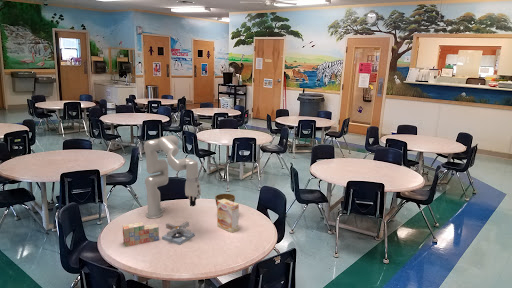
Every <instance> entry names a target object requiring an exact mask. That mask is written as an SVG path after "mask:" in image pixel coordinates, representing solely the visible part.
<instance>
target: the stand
mask: <svg viewBox="0 0 512 288" xmlns="http://www.w3.org/2000/svg"><path fill="white" fill-rule="evenodd" d="M195 234H196V233H195V232H192V231H191V235H187V234H183V236H181V237H178V238H174V237H172V236H171V237H167V233H166V234H164V235H162V236H161V240H164V241H167V242H169V243H173V244H176V245H179V246H180V245H182V244H184V243H186V242H187V241H189V240H190V239H192V238H194V237H195V236H196V235H195Z"/></svg>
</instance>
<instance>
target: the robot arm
mask: <svg viewBox="0 0 512 288" xmlns="http://www.w3.org/2000/svg"><path fill="white" fill-rule="evenodd" d="M178 144H179V139H178V137H177V136H176V135H173V134H172V135H165V136H160V138H159V137H158V138H154V139H149V140H147V141H145V143H144V145H143V150H144V153H145V159H146V160H145V164H146V172H147V173H148V174H149V175H148V176H146V177H145V178H144V179H145V180H144V185H145V188H146V197H147V199H146V200H147V201H146V202H147V212H146V213H145V217H146V218H147V219H158V218H161V217H162V216H163V215H164V212H163V211H164V210H165V209H166V207H165V206H163V207H161V206H162V205H161V192H160V190H159V189H158V187H162V186H165V185H167V184H168V183H169V167H170V168H171V169H172V170H174V172H182V171H185V172H186V173H185V174H186V177H185V178H186V181H185V184H184V193H185V197H187V198H188V200H189V206H190V207H195V206H197V205H196V203H197V202H196V201H197V200H199V199H200V198H201V193H202V191H201V190H202V189H201V183H200V178H199V163H198V161H197V160H196V159H195V160H194V159H192V158H191V157H185V158H180V159H176V158H175V157H176V156H177V154H178V153H179V148H178ZM157 151H163V152H164V153H165V155H166V156H167V157H166V159H167V160H165V159H164V158H161V159H159V154H158V152H157Z"/></svg>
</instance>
